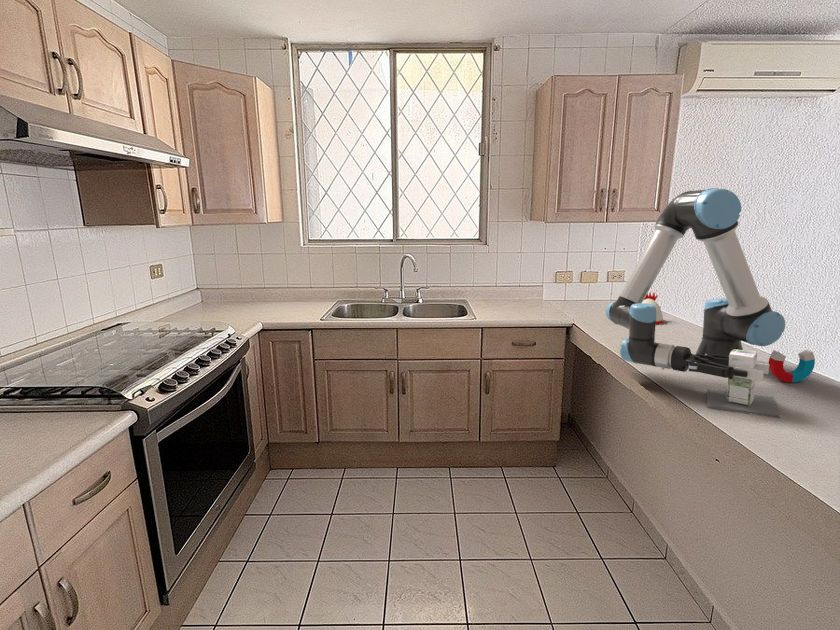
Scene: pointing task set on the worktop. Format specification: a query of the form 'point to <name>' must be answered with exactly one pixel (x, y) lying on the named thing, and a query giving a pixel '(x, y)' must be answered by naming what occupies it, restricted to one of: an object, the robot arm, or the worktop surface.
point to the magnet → (797, 374)
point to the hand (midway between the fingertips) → (765, 372)
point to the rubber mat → (758, 406)
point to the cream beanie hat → (652, 301)
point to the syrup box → (741, 387)
